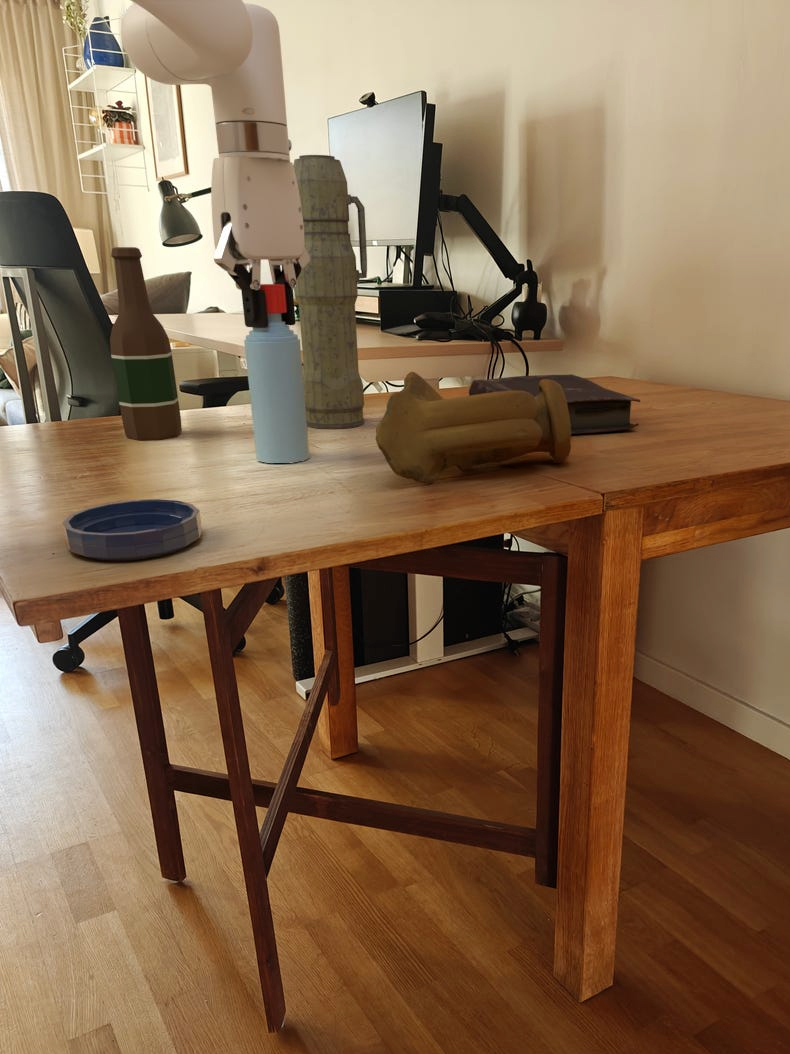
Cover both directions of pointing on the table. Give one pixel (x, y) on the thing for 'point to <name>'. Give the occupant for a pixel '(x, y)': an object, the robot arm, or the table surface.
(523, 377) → the diary
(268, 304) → the cap
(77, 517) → the dish
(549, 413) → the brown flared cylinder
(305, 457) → the bottle
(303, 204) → the thermos
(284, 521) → the table surface
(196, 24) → the robot arm
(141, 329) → the beer bottle
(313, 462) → the table surface
